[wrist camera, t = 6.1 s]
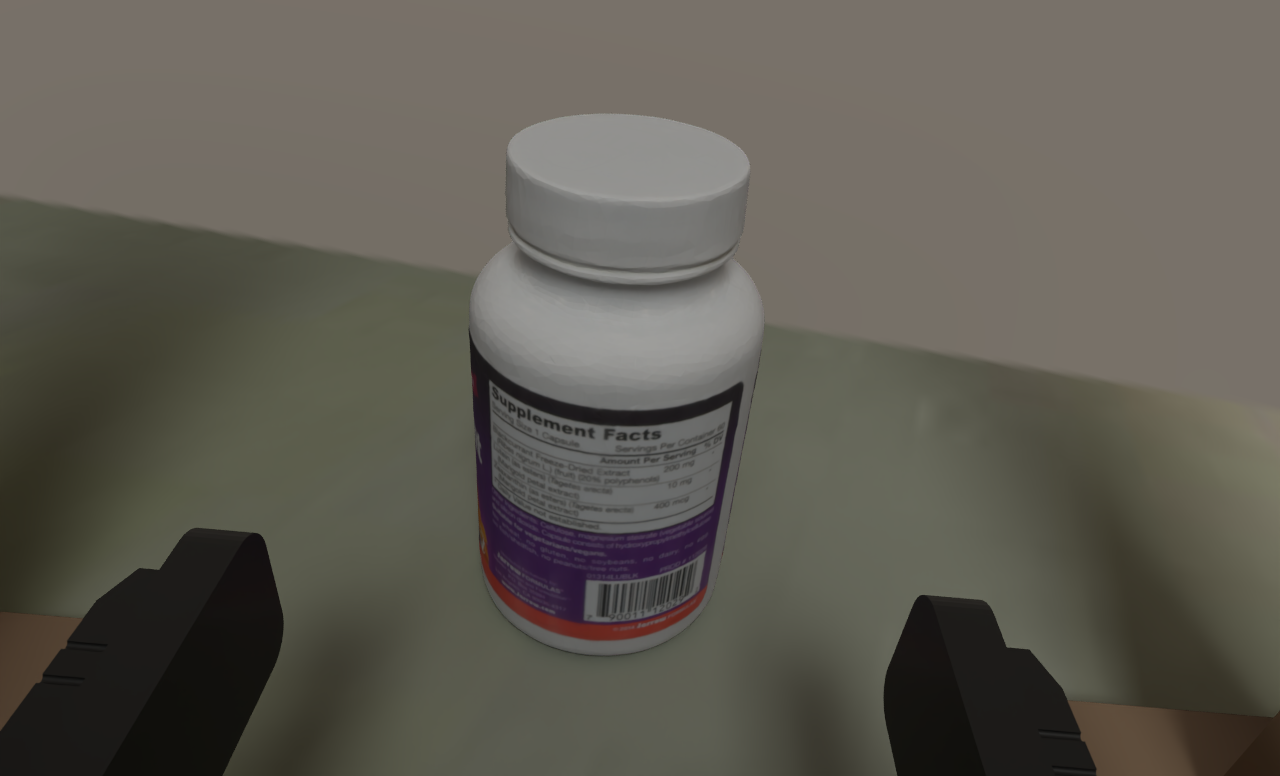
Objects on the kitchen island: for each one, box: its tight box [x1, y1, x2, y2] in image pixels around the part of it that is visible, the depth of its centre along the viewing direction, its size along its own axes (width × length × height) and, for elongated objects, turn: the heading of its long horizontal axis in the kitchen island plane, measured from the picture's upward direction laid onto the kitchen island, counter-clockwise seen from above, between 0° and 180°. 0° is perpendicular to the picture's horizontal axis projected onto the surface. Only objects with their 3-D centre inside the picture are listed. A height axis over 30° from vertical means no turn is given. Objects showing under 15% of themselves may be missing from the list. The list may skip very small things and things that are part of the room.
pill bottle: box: [469, 114, 765, 656], centre depth 16 cm, size 5×5×10 cm
